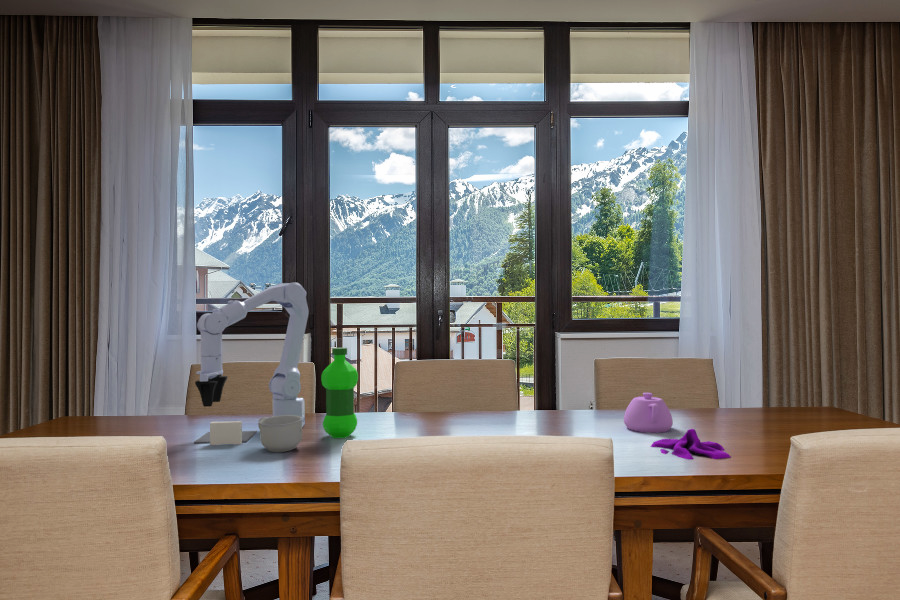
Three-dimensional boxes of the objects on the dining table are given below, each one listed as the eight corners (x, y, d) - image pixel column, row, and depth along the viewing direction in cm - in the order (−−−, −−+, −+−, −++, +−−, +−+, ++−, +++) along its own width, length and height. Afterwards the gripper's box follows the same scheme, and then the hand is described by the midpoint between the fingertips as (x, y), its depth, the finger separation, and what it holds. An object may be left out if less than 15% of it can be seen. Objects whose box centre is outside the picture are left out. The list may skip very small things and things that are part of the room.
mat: (256, 432, 184) (256, 430, 184) (246, 442, 172) (246, 440, 172) (207, 433, 183) (207, 432, 183) (193, 443, 170) (193, 442, 170)
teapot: (662, 421, 195) (661, 387, 195) (681, 435, 175) (680, 397, 175) (617, 421, 196) (616, 387, 196) (630, 435, 176) (630, 397, 176)
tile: (242, 443, 171) (241, 421, 171) (240, 444, 169) (240, 422, 169) (211, 443, 170) (211, 421, 170) (210, 445, 168) (209, 423, 168)
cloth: (646, 442, 170) (646, 419, 170) (719, 445, 166) (719, 421, 166) (656, 463, 148) (656, 437, 148) (741, 467, 144) (740, 440, 144)
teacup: (310, 449, 163) (309, 418, 163) (271, 456, 155) (271, 424, 155) (283, 441, 173) (283, 412, 173) (246, 447, 165) (246, 417, 165)
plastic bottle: (318, 434, 181) (317, 347, 181) (353, 431, 185) (353, 346, 185) (325, 441, 171) (324, 350, 171) (363, 437, 176) (362, 348, 176)
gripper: (205, 353, 184) (205, 400, 184) (188, 358, 169) (188, 408, 169) (229, 353, 184) (230, 399, 184) (214, 357, 170) (215, 408, 170)
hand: (211, 404), depth 177 cm, fingers open, 7 cm apart
